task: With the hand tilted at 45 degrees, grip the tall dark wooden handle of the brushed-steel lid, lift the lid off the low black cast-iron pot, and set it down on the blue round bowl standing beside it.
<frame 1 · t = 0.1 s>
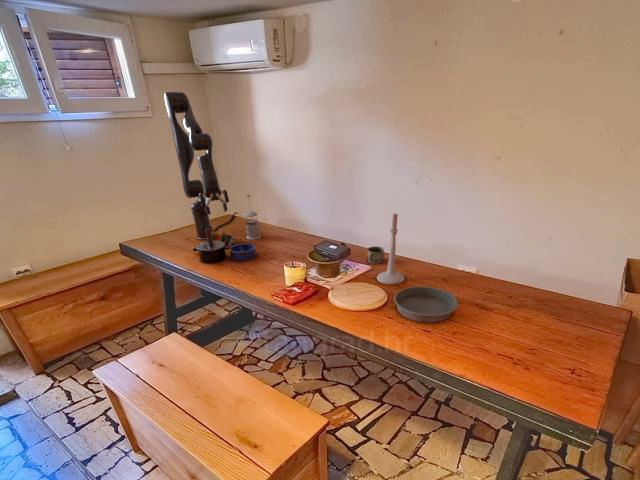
hand: (217, 212, 192), 22 cm above the table, tool pointing down, fingers open, 8 cm apart
blue round bowl: (243, 256, 200), on the table
cake pan: (424, 309, 147), on the table
candlestick: (390, 279, 172), on the table
lid: (211, 246, 194), point 7 cm above the table, touching pot
vessel: (375, 261, 191), on the table
french press: (254, 237, 228), on the table
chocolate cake: (227, 245, 216), on the table
pot: (213, 258, 198), on the table
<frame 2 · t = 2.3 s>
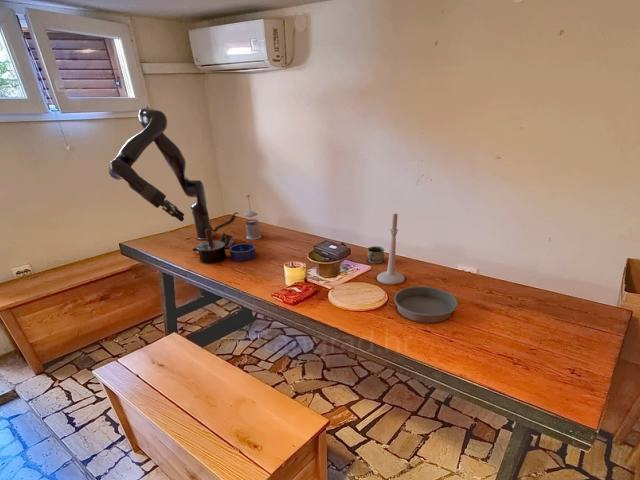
hand: (183, 218, 184), 23 cm above the table, tool tilted 45°, fingers open, 8 cm apart
nothing on the table moved.
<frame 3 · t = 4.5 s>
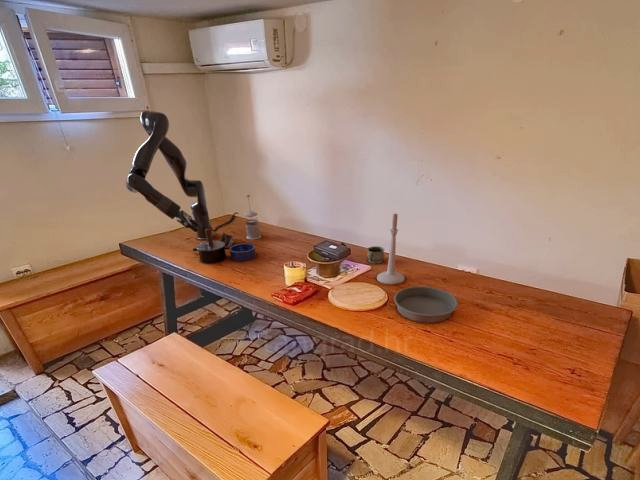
hand: (197, 228, 188), 17 cm above the table, tool tilted 45°, fingers open, 8 cm apart
nothing on the table moved.
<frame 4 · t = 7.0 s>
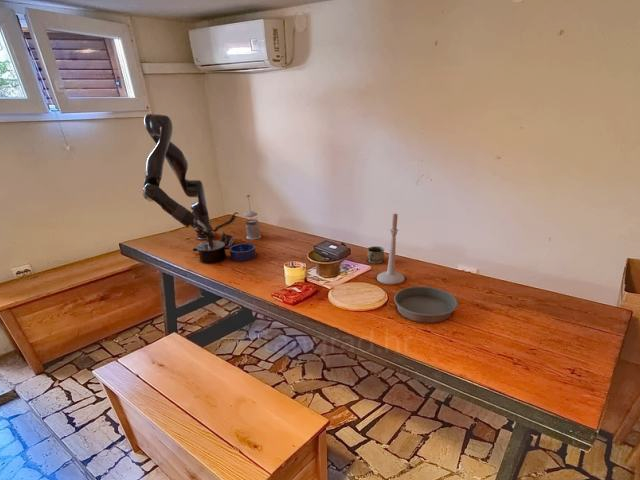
hand: (213, 237, 192), 12 cm above the table, tool tilted 45°, fingers closed on lid, 2 cm apart
lid: (211, 246, 194), point 7 cm above the table, touching gripper, pot
everything else where it was.
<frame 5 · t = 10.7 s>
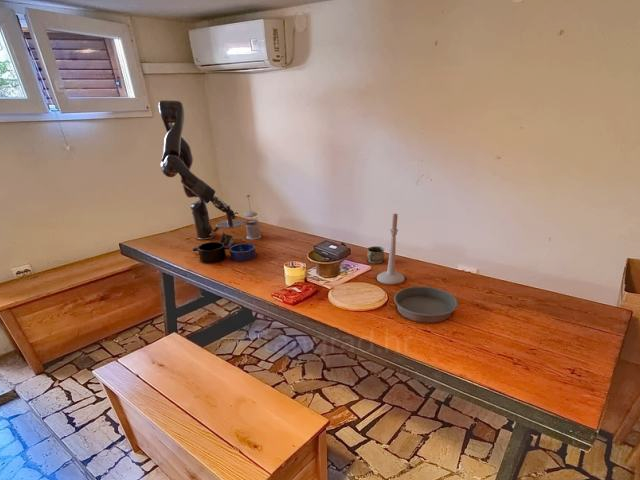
hand: (232, 214, 187), 23 cm above the table, tool tilted 45°, fingers closed on lid, 2 cm apart
lid: (230, 224, 190), point 18 cm above the table, touching gripper
everything else where it was.
when the fingers open (11 cm above the table, at t = 14.4 s): lid stays where it is, resting on blue round bowl, pot.
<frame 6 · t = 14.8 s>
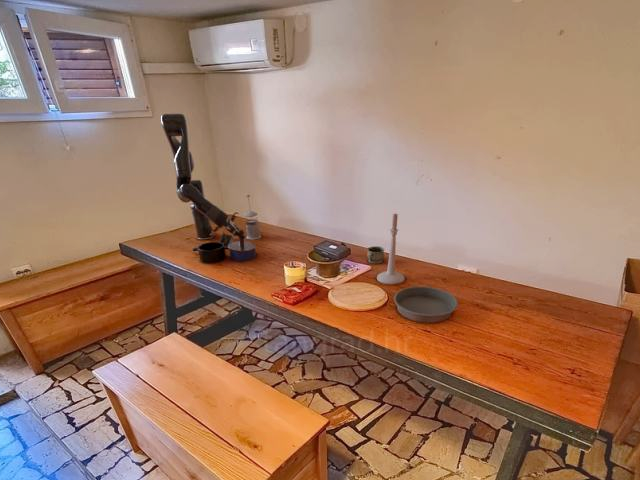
hand: (243, 236, 194), 11 cm above the table, tool tilted 45°, fingers open, 6 cm apart
lid: (241, 246, 197), point 6 cm above the table, tilted 6°, touching blue round bowl, pot
everything else where it was.
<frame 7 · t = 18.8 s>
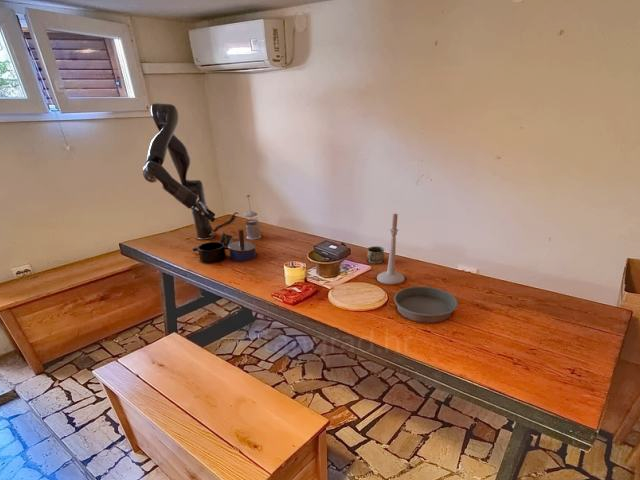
hand: (214, 218, 187), 21 cm above the table, tool tilted 45°, fingers open, 8 cm apart
nothing on the table moved.
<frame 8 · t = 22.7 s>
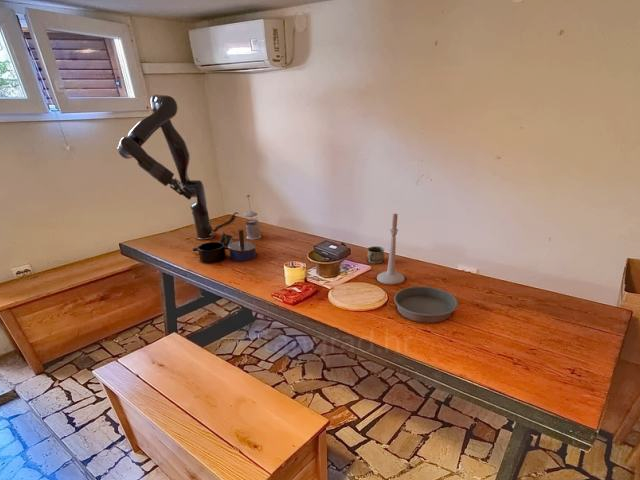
hand: (191, 196, 188), 31 cm above the table, tool tilted 45°, fingers open, 8 cm apart
nothing on the table moved.
at the end: lid moved 16.0 cm from its start; lid 0.1 cm off-centre on the blue round bowl, point 5.7 cm above the blue round bowl's base; lid tilted 6° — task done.
